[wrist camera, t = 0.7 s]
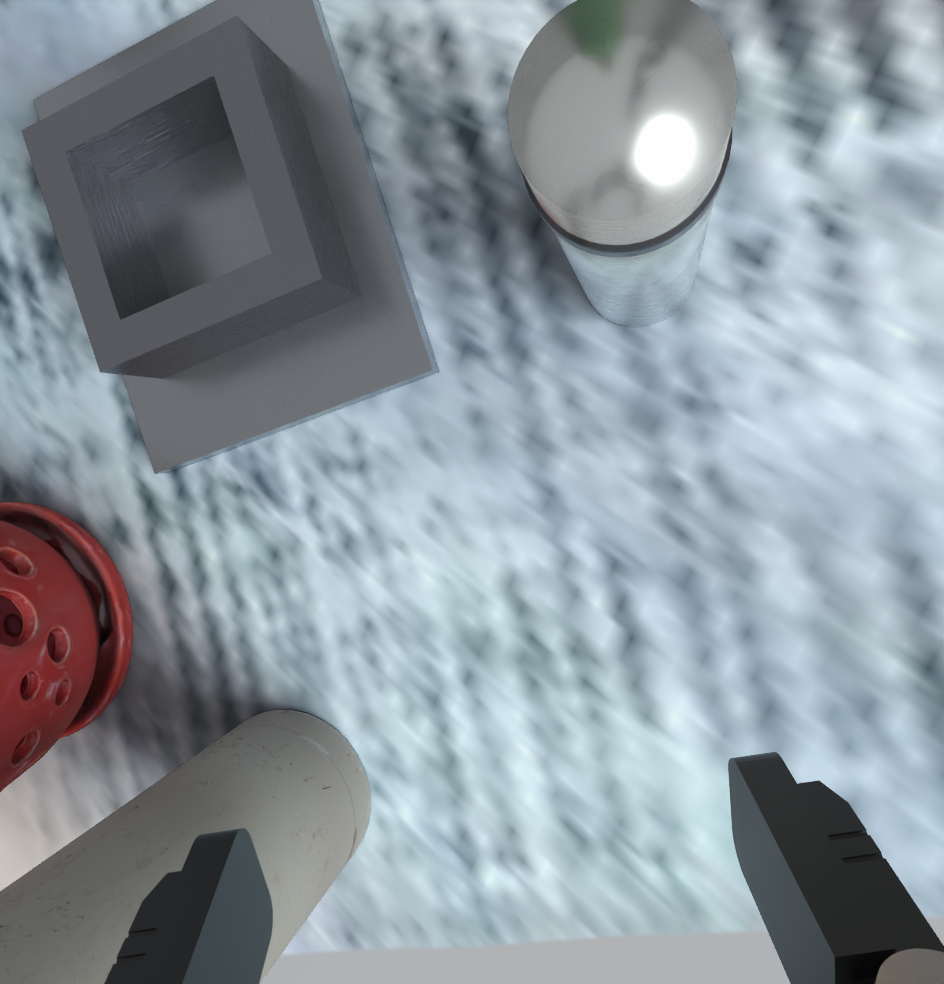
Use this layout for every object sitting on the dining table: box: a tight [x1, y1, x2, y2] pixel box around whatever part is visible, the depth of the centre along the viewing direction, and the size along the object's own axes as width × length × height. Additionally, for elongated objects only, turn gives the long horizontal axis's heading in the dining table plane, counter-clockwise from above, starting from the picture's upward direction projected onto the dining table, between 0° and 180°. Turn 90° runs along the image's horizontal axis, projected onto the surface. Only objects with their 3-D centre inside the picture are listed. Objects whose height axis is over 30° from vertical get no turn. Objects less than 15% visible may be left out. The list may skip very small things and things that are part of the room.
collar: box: [22, 0, 439, 474], centre depth 32 cm, size 18×14×5 cm
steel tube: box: [508, 0, 737, 327], centre depth 23 cm, size 5×5×16 cm
